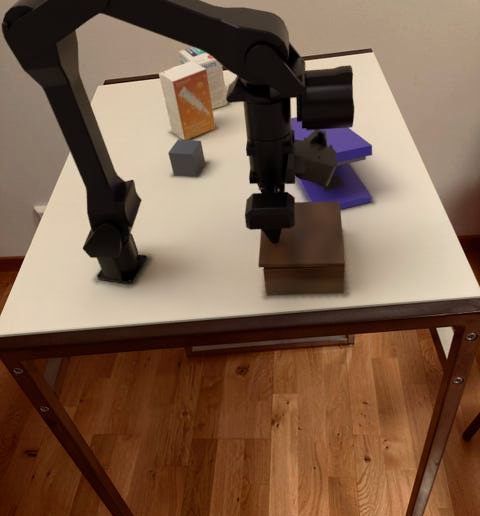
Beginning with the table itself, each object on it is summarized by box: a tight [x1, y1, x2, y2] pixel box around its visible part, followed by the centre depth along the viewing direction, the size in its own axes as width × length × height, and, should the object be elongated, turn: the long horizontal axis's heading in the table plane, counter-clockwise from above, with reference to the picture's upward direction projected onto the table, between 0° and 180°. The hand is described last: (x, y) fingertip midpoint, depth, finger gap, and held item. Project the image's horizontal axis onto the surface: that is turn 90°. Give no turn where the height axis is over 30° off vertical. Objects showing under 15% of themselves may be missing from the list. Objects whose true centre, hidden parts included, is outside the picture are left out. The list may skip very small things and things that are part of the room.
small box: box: [158, 61, 216, 140], centre depth 108 cm, size 8×6×13 cm
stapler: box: [291, 116, 373, 210], centre depth 93 cm, size 12×28×10 cm, turn 12°
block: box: [167, 138, 206, 178], centre depth 101 cm, size 5×5×5 cm
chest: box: [262, 266, 346, 296], centre depth 78 cm, size 11×14×5 cm
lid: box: [258, 201, 346, 268], centre depth 74 cm, size 12×14×5 cm
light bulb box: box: [178, 46, 228, 110], centre depth 118 cm, size 11×7×11 cm, turn 25°
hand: (275, 228), depth 75 cm, fingers closed on lid, 6 cm apart
